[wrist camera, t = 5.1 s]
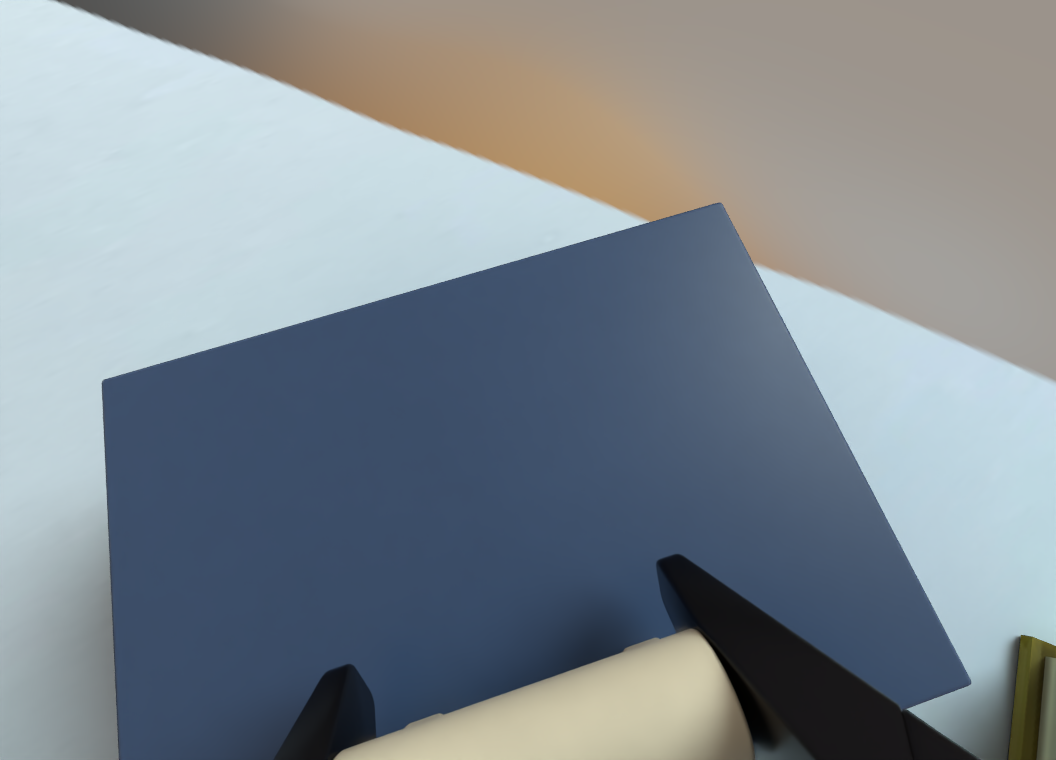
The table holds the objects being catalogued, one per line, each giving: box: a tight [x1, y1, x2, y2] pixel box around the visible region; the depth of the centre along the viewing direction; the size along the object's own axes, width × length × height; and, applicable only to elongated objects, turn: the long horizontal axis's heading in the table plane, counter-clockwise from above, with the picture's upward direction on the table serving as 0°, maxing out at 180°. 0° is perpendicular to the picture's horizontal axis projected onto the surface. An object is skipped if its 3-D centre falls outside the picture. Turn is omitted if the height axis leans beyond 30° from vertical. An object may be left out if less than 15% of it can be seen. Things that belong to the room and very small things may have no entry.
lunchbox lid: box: [102, 203, 971, 760], centre depth 9 cm, size 11×15×4 cm
